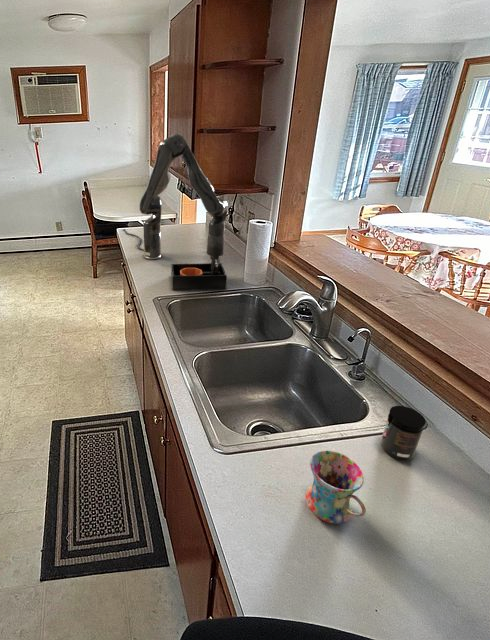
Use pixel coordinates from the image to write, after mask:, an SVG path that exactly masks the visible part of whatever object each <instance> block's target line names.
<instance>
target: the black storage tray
mask: <svg viewBox="0 0 490 640" xmlns="http://www.w3.org/2000/svg"><path fill="white" fill-rule="evenodd" d="M170 265H171V266H170V278H171V288H172V291H200V290H202V291H207V290H208V291H210V290H211V291H212V290H218V291H219V290H227V273H226V271H225V268H224V265H223V263H222V262H220V263H219V265H220V267H219V272H220V275H181V276H180V270H182V269H184V268H197V269H200V270H202V272H211V267H210V262H208V263H206V262H205V263H204V262H203V263H171V264H170Z"/></svg>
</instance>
